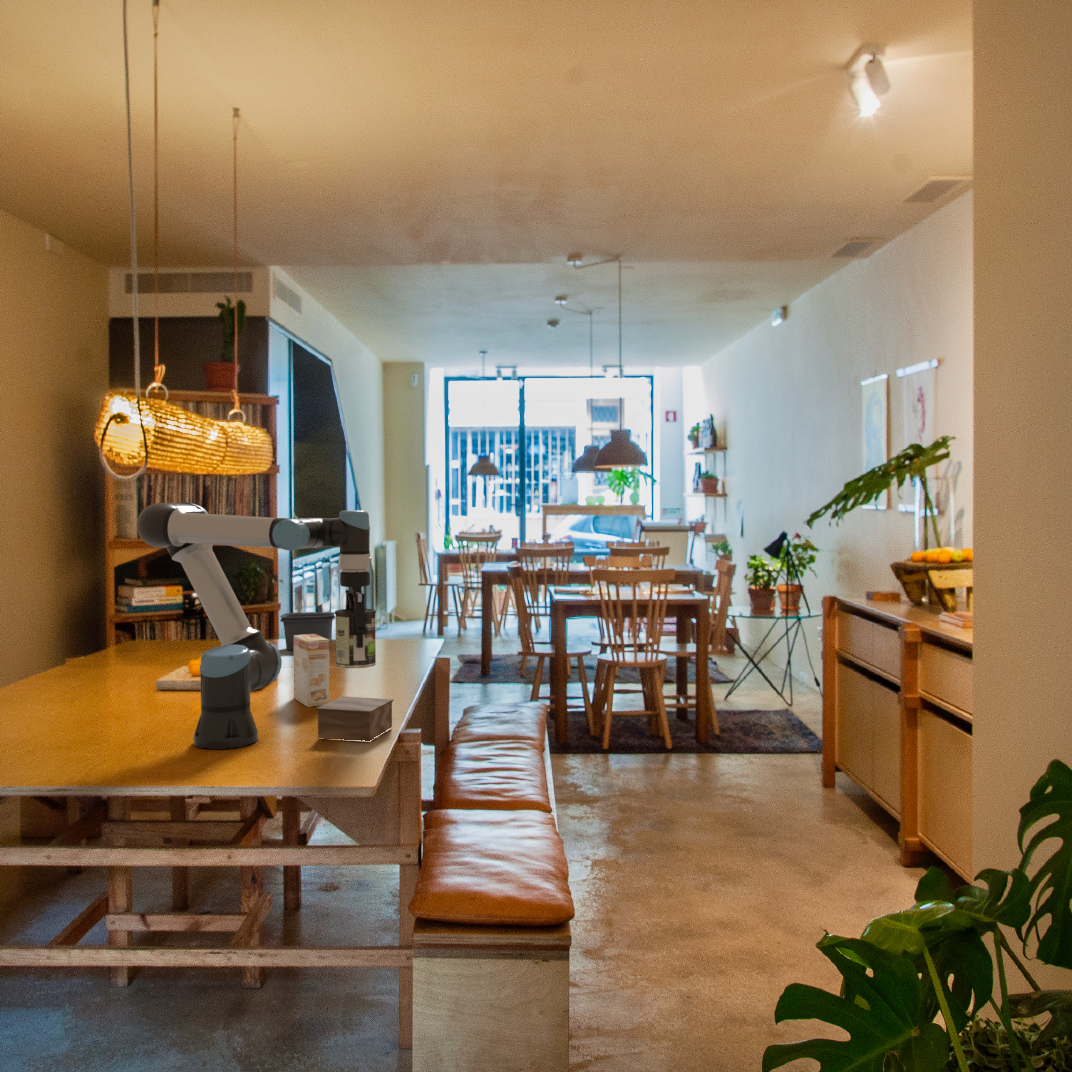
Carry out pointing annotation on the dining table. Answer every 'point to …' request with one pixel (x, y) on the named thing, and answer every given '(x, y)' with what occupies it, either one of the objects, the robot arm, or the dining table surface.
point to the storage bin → (307, 625)
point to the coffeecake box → (311, 670)
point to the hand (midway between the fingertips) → (355, 657)
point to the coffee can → (346, 639)
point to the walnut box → (354, 718)
